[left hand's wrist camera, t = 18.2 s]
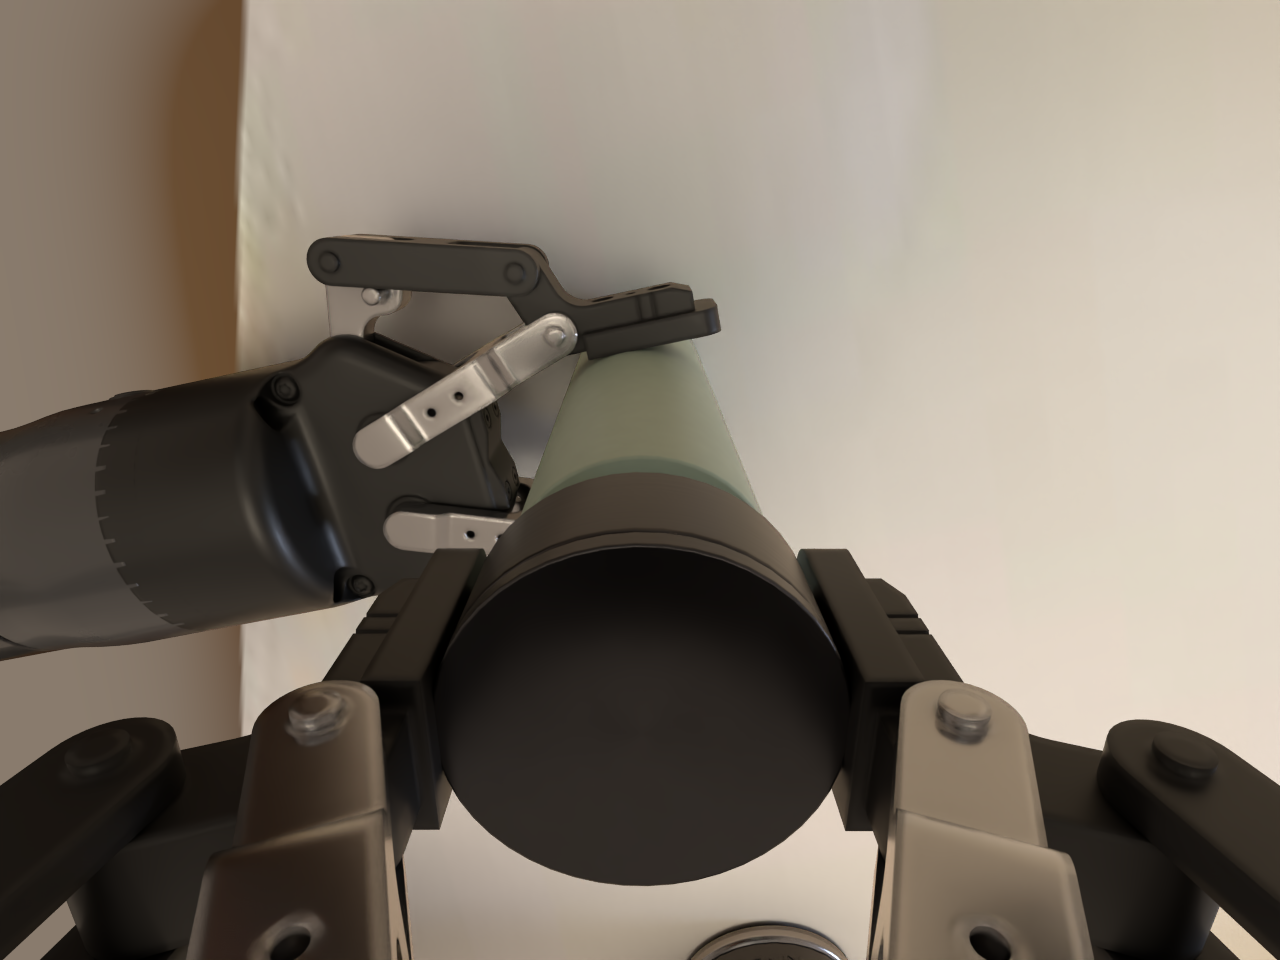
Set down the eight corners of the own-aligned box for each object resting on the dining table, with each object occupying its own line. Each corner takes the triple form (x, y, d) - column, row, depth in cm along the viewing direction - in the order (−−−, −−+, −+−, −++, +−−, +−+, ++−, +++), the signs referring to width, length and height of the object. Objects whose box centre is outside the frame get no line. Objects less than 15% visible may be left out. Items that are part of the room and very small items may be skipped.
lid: (703, 803, 12) (717, 935, 10) (420, 685, 11) (368, 800, 9) (877, 565, 11) (938, 661, 8) (563, 406, 10) (541, 465, 8)
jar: (603, 292, 26) (542, 458, 9) (719, 339, 27) (864, 576, 10) (561, 406, 28) (440, 731, 11) (672, 449, 29) (725, 819, 11)
